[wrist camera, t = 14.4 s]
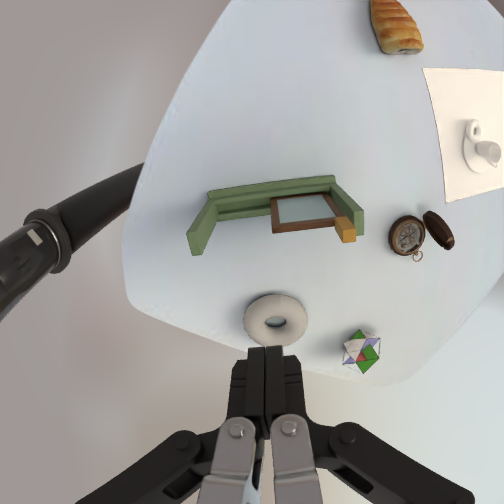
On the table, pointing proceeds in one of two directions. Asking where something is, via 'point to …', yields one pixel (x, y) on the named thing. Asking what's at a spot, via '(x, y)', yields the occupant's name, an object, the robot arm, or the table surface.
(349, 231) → the sash
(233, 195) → the window frame
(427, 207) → the table surface
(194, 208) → the table surface
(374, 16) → the pastry
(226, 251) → the table surface
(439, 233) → the compass
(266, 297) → the donut
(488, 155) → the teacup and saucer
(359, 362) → the geometric puzzle
